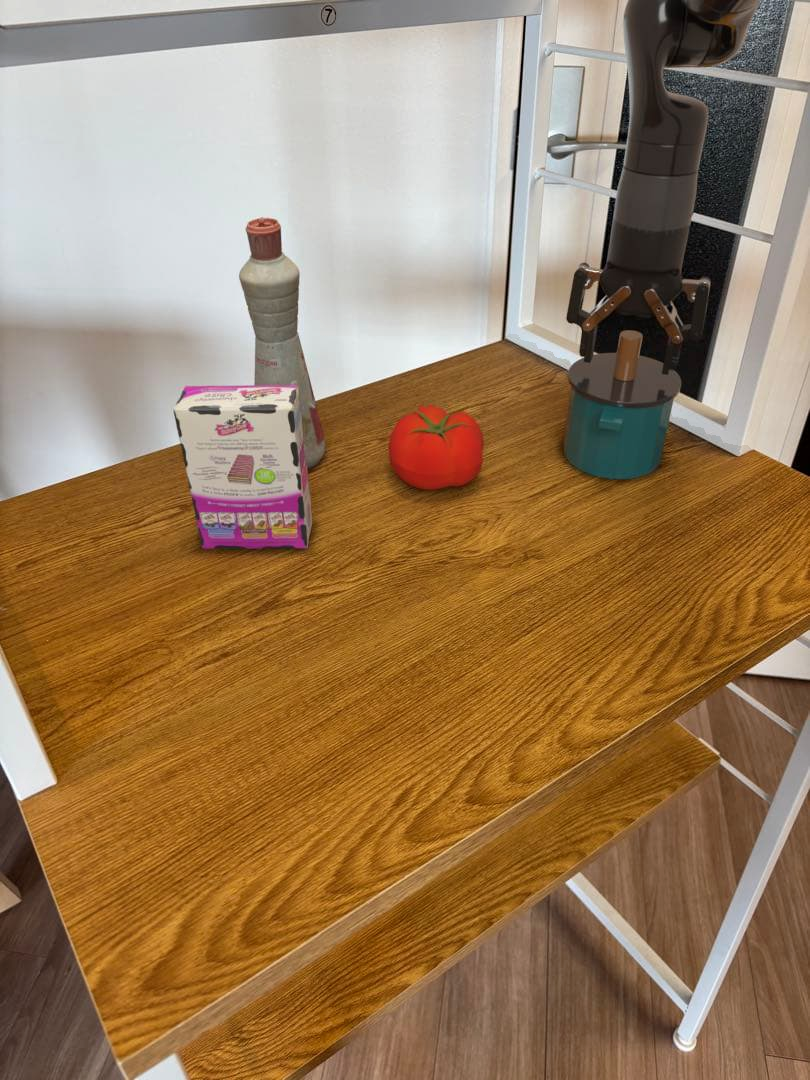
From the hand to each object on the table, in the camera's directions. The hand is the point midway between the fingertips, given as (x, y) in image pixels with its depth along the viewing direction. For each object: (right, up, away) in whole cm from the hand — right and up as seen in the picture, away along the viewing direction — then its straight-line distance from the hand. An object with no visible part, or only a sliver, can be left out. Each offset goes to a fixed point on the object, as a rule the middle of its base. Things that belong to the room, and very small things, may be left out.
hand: (626, 365), depth 92 cm
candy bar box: (-40, -19, -5) cm, 45 cm away
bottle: (-39, -10, +7) cm, 40 cm away
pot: (0, -9, +7) cm, 11 cm away
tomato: (-21, -12, +3) cm, 25 cm away
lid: (0, -1, +1) cm, 2 cm away
